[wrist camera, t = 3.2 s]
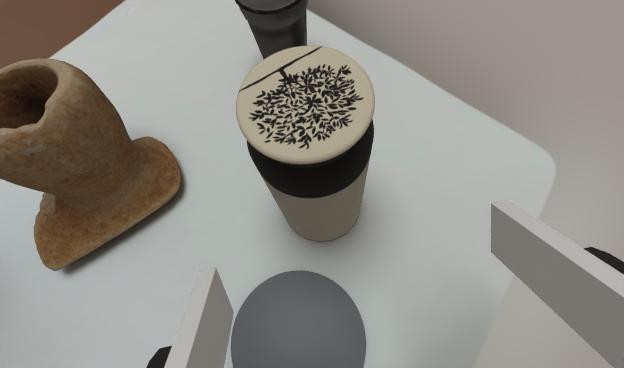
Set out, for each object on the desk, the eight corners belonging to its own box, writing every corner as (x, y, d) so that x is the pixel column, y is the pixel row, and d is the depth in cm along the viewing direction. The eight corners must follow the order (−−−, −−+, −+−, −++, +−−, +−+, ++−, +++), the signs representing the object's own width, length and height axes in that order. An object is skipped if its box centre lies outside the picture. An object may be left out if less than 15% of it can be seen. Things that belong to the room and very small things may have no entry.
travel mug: (373, 222, 33) (408, 127, 16) (301, 255, 32) (260, 191, 16) (339, 158, 36) (339, 21, 19) (272, 187, 35) (212, 72, 18)
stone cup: (157, 120, 40) (58, 16, 26) (198, 196, 35) (107, 120, 22) (38, 187, 38) (-139, 112, 24) (67, 276, 33) (-128, 249, 19)
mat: (242, 434, 27) (240, 437, 27) (225, 287, 32) (223, 287, 31) (382, 400, 27) (383, 402, 27) (345, 258, 32) (345, 257, 31)
